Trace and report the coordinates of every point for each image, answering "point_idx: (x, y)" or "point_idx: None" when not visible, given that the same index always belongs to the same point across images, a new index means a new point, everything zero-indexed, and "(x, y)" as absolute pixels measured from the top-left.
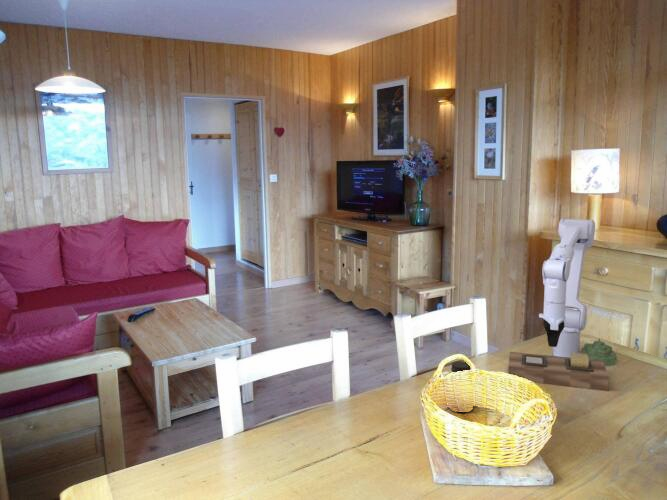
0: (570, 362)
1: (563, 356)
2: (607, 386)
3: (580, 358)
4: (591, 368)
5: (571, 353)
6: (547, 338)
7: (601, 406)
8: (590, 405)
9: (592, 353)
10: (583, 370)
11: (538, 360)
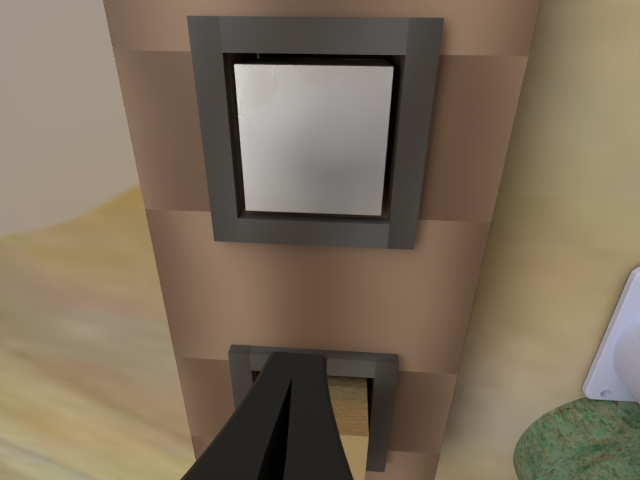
0: None
1: (632, 326)
2: None
3: None
4: None
5: (349, 441)
6: (228, 422)
7: (60, 385)
8: (44, 353)
9: (593, 477)
10: None
11: (312, 182)
